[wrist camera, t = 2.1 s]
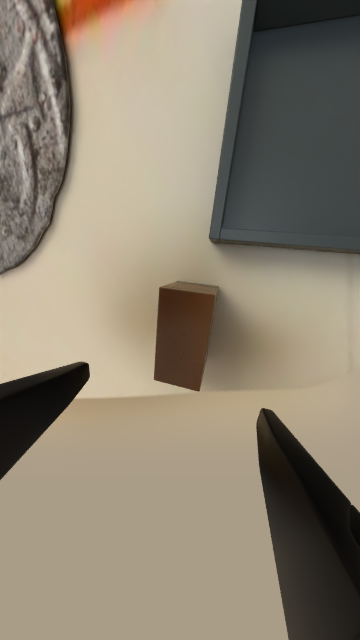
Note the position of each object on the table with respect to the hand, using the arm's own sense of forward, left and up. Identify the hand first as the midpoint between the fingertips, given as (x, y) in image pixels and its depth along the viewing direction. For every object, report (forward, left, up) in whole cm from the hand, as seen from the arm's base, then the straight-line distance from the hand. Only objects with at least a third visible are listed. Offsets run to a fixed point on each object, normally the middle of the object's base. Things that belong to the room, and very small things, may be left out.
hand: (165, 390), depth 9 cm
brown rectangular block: (0, 0, -10) cm, 10 cm away
